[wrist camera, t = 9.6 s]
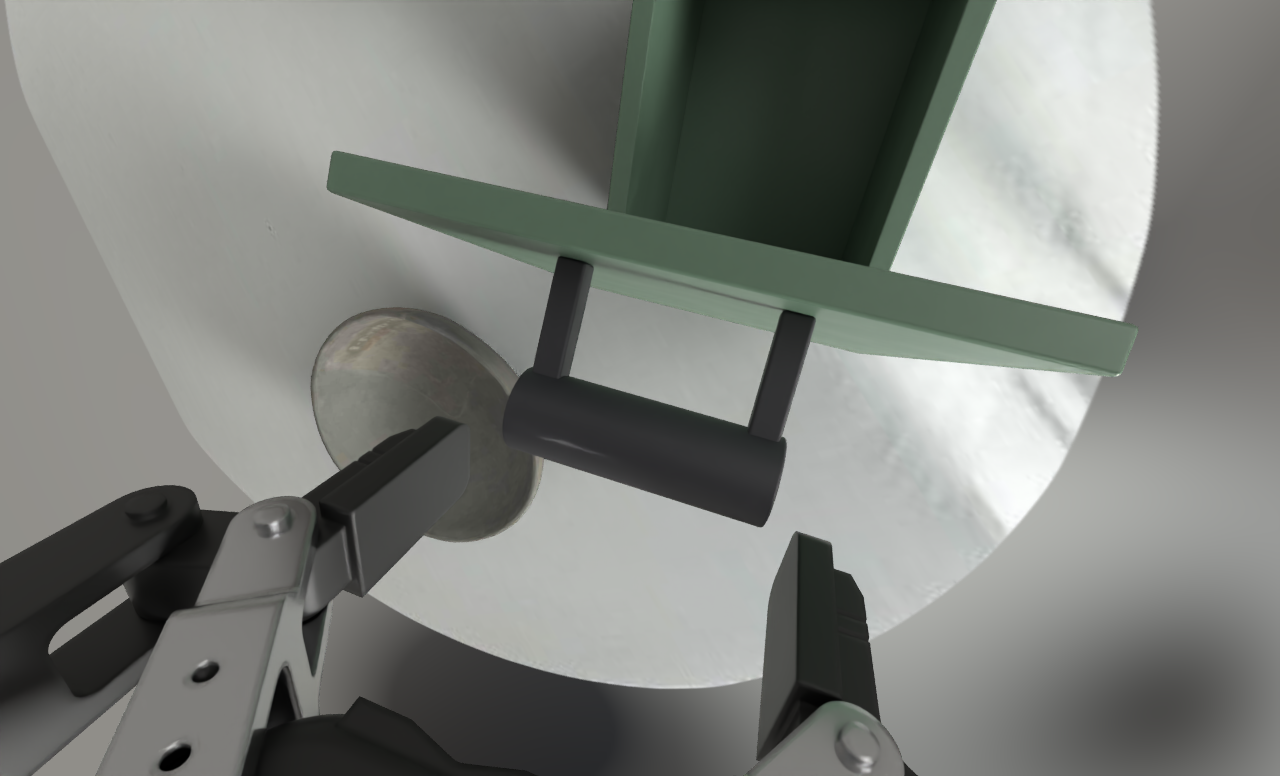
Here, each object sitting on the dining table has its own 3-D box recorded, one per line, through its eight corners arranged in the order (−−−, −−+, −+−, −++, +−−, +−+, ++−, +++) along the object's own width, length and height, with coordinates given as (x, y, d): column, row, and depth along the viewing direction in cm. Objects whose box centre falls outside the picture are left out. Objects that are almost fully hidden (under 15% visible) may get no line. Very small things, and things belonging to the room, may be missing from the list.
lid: (329, 148, 10) (288, 414, 11) (1143, 325, 7) (1014, 657, 8) (597, 272, 27) (574, 370, 28) (865, 337, 25) (832, 442, 25)
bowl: (337, 340, 50) (262, 371, 43) (491, 245, 41) (427, 266, 34) (456, 510, 55) (406, 563, 48) (614, 460, 46) (581, 515, 39)
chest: (700, -51, 29) (650, -147, 20) (957, -21, 27) (1042, -115, 17) (650, 244, 37) (598, 278, 28) (845, 289, 35) (861, 342, 25)
